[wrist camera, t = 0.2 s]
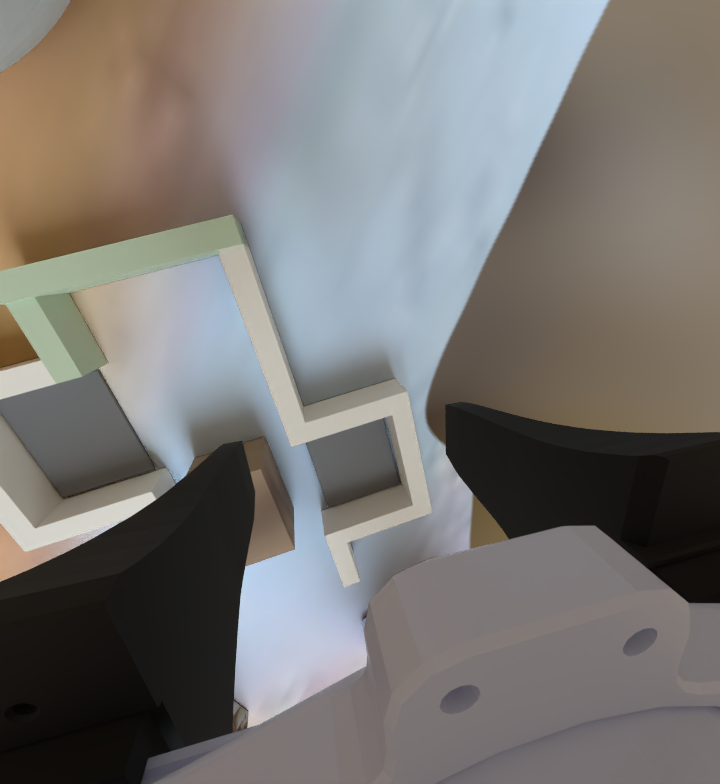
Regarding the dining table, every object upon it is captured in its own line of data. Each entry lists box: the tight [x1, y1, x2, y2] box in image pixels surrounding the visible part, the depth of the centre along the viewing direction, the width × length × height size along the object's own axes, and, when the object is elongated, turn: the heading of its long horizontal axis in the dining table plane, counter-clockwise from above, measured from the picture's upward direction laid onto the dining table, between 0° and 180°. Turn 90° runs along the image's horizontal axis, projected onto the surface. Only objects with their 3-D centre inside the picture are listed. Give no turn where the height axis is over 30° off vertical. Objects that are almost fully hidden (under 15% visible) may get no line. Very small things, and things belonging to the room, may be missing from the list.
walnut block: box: [186, 436, 295, 566], centre depth 21 cm, size 6×4×4 cm
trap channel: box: [0, 215, 432, 587], centre depth 20 cm, size 24×23×3 cm
